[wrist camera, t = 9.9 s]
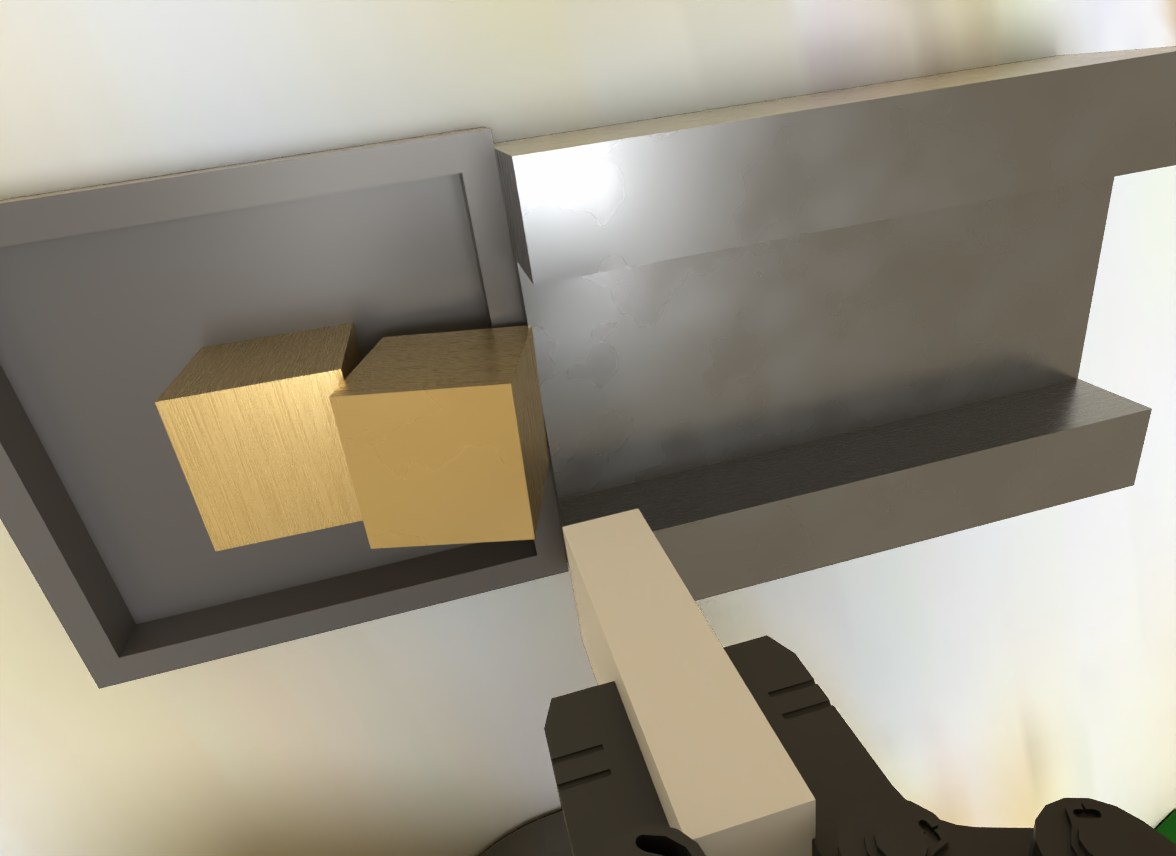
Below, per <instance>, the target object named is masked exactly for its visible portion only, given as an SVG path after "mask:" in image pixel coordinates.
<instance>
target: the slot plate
mask: <svg viewBox="0 0 1176 856" xmlns="http://www.w3.org/2000/svg"><path fill="white" fill-rule="evenodd" d="M494 149H495V155H496V160H497V166H498V172H499V178H500V183H501V189H502V195H503V200H504V206H505V212H506V217H507V223H508V229H509V235H510V240H511V246H512V252H513V257H514V263H515V269H516V274H517V280H518V286H519V292H520V297H521V303H522V309H523V314H524V320H525V326H526V325H531V326H532V334H533V341H534V348H535V356H536V363H537V371H538V378H539V385H540V393H541V400H542V407H543V415H544V422H545V430H546V437H547V444H548V452H549V462H550V468H551V474H552V480H553V485H554V491H555V497H556V502H557V508H558V514H559V519H560V525H561V531H562V537H563V542H564V548H565V554H566V559H567V563H568V565H569V562H568V557H567V551H566V545H565V540H564V534H563V528H562V527H564V526H568V525H572V524H576V523H580V522H584V521H589V520H593V519H597V518H601V517H605V516H609V515H613V514H617V513H621V512H625V511H629V510H633V509H637V508H638V509H639V511H640V512H641V514H642V515H643V517H644V519H645V520H646V522H647V524H648V525H649V527H650V529H651V530H652V532H653V533H654V535H655V537H656V538H657V540H658V542H659V543H660V545H661V547H662V548H663V550H664V552H665V553H666V555H667V556H668V558H669V560H670V561H671V563H672V565H673V566H674V568H675V570H676V571H677V573H678V575H679V576H680V578H681V579H682V581H683V583H684V584H685V586H686V588H687V589H688V591H689V593H690V594H691V596H692V598H693V599H694V601H696V600H700V599H704V598H707V597H711V596H715V595H719V594H723V593H726V592H730V591H734V590H738V589H742V588H745V587H749V586H753V585H757V584H761V583H764V582H768V581H772V580H776V579H780V578H783V577H787V576H791V575H795V574H798V573H802V572H806V571H810V570H814V569H817V568H821V567H825V566H829V565H833V564H836V563H840V562H844V561H848V560H852V559H855V558H859V557H863V556H867V555H871V554H874V553H878V552H882V551H886V550H889V549H893V548H897V547H901V546H905V545H908V544H912V543H916V542H920V541H924V540H927V539H931V538H935V537H939V536H943V535H946V534H950V533H954V532H958V531H962V530H965V529H969V528H973V527H977V526H981V525H984V524H988V523H992V522H996V521H999V520H1003V519H1007V518H1011V517H1015V516H1018V515H1022V514H1026V513H1030V512H1034V511H1037V510H1041V509H1045V508H1049V507H1053V506H1056V505H1060V504H1064V503H1068V502H1072V501H1075V500H1079V499H1083V498H1087V497H1091V496H1094V495H1098V494H1102V493H1106V492H1109V491H1113V490H1117V489H1121V488H1125V487H1128V486H1132V485H1134V482H1135V478H1136V474H1137V469H1138V465H1139V461H1140V457H1141V452H1142V448H1143V444H1144V440H1145V435H1146V431H1147V427H1148V423H1149V418H1150V414H1151V410H1152V409H1151V408H1149V407H1146V406H1144V405H1141V404H1139V403H1136V402H1134V401H1131V400H1129V399H1126V398H1124V397H1121V396H1119V395H1116V394H1114V393H1111V392H1109V391H1106V390H1104V389H1102V388H1099V387H1097V386H1094V385H1092V384H1089V383H1087V382H1084V381H1082V380H1079V379H1078V373H1079V368H1080V362H1081V357H1082V351H1083V346H1084V340H1085V335H1086V329H1087V324H1088V318H1089V313H1090V307H1091V302H1092V296H1093V291H1094V285H1095V280H1096V274H1097V269H1098V263H1099V258H1100V252H1101V247H1102V241H1103V236H1104V230H1105V225H1106V219H1107V213H1108V208H1109V202H1110V197H1111V191H1112V186H1113V180H1114V176H1119V175H1124V174H1130V173H1135V172H1140V171H1146V170H1151V169H1157V168H1162V167H1167V166H1173V165H1176V46H1173V47H1160V48H1148V49H1135V50H1123V51H1110V52H1098V53H1085V54H1073V55H1060V56H1053V57H1046V58H1040V59H1033V60H1027V61H1021V62H1014V63H1008V64H1001V65H995V66H988V67H982V68H976V69H969V70H963V71H956V72H950V73H943V74H937V75H931V76H924V77H918V78H911V79H905V80H898V81H892V82H886V83H879V84H873V85H866V86H860V87H853V88H847V89H841V90H834V91H828V92H821V93H815V94H808V95H802V96H796V97H789V98H783V99H776V100H770V101H763V102H757V103H751V104H744V105H738V106H731V107H725V108H718V109H712V110H705V111H699V112H693V113H686V114H680V115H673V116H667V117H660V118H654V119H648V120H641V121H635V122H628V123H622V124H615V125H609V126H603V127H596V128H590V129H583V130H577V131H570V132H564V133H558V134H551V135H545V136H538V137H532V138H525V139H519V140H513V141H506V142H500V143H494Z"/></svg>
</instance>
